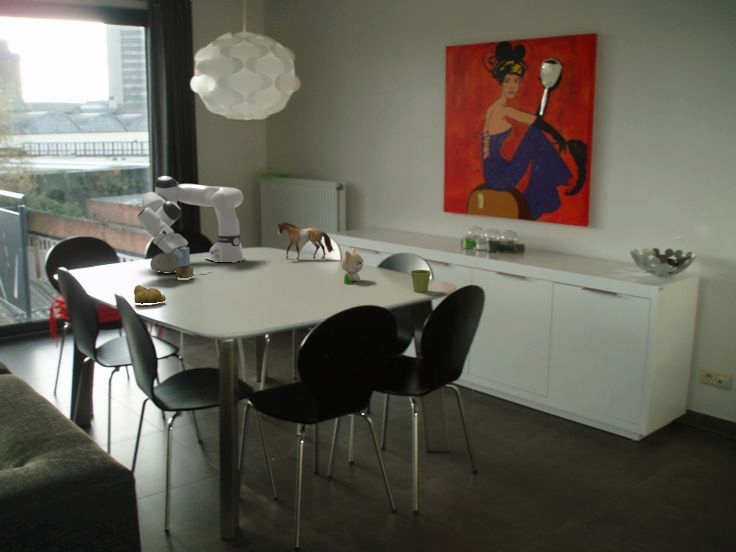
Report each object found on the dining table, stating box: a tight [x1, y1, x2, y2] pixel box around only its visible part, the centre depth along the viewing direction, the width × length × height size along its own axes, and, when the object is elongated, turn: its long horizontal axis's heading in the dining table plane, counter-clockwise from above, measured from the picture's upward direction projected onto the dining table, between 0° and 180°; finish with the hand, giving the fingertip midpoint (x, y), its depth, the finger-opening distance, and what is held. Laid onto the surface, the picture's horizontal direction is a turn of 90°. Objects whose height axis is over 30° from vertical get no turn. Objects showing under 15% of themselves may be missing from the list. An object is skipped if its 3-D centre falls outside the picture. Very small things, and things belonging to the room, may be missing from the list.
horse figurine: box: [275, 222, 335, 260], centre depth 435 cm, size 31×8×21 cm, turn 85°
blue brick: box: [178, 246, 191, 266], centre depth 385 cm, size 4×4×8 cm
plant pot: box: [409, 269, 432, 293], centre depth 352 cm, size 9×9×9 cm
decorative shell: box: [149, 252, 187, 273], centre depth 405 cm, size 18×18×10 cm
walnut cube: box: [175, 265, 195, 278], centre depth 386 cm, size 6×6×6 cm
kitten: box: [341, 247, 365, 285], centre depth 375 cm, size 15×10×15 cm, turn 161°
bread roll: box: [133, 284, 167, 304], centre depth 333 cm, size 13×10×8 cm
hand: (185, 255), depth 385 cm, fingers closed on blue brick, 4 cm apart
